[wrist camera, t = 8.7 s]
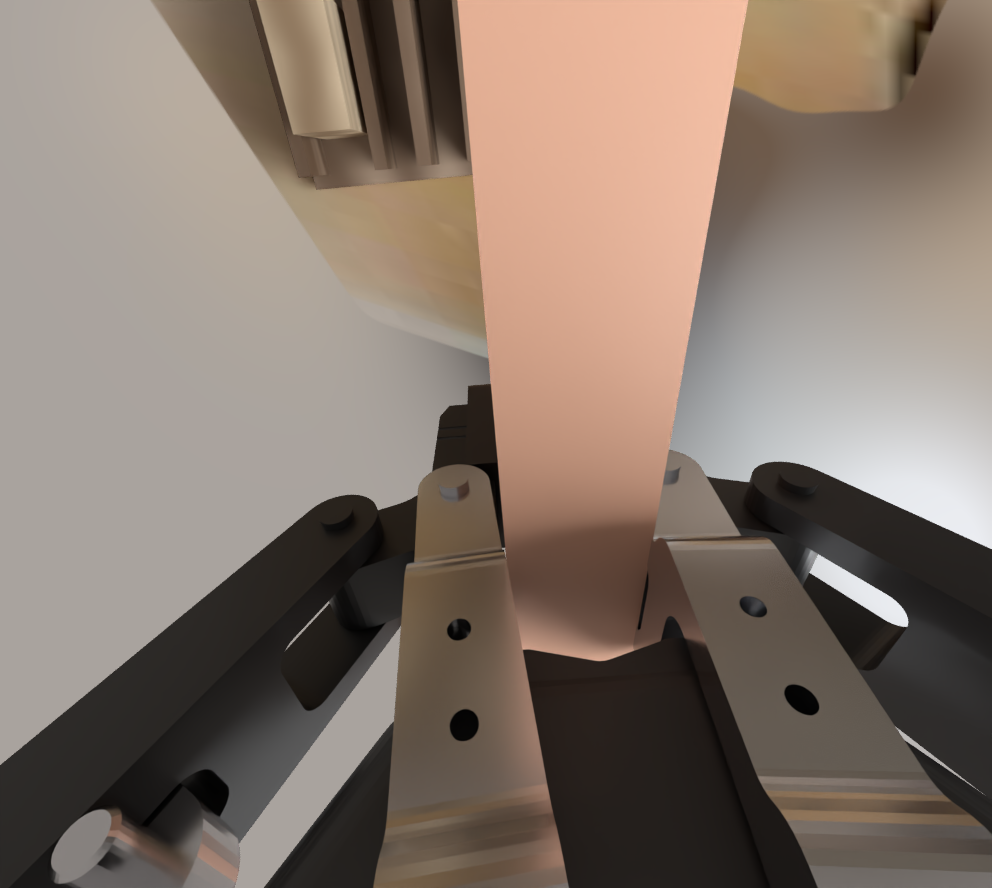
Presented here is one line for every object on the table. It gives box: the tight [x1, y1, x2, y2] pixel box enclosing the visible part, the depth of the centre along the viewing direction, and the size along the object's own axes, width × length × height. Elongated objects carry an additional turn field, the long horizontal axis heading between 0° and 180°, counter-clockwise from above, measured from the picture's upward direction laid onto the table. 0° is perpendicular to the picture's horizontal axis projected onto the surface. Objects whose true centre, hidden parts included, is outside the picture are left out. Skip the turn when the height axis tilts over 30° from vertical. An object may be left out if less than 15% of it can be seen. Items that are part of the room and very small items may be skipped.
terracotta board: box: [457, 0, 748, 661], centre depth 14 cm, size 2×20×18 cm, turn 4°
